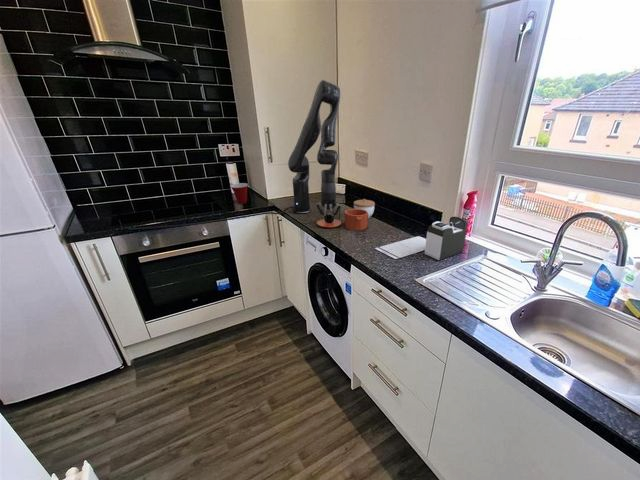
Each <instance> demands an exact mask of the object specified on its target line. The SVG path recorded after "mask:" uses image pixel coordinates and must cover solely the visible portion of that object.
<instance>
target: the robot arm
mask: <svg viewBox="0 0 640 480" xmlns="http://www.w3.org/2000/svg"><path fill="white" fill-rule="evenodd" d="M340 102H341V89H340V87H339V86H338V85H337V84H335V83H332V82H330V81H327V80H325V79H321V80H320V81H319V82H318V84H317V86H316V88H315V92H314V96H313V98H312V103H311V106H310V108H309V111H308V114H307V117H306V119H305V121H304V124H303V125H302V128H301V132H300V133H299V138H298V139H297V142H296V144H295V146H294V148H293V150H292V152H291V154H290V156H289V158H288V163H287V166H288V169H289V171H290V172H291V173H296V175H295V176H294V177H293V178H292V189H293V192H292V193H293V203H291V206H288V207H287V208H285V209H284V210H283V211H282V212H272V211H268V212H267V211H266V212H259V213H253V214H248V215H247V214H246V215H241V216H235V217H229V218H228V217H227V218H221V219H214V220H208V221H207V220H206V221H201V222H200V221H199V222H192V223H191V222H190V223H182V224H171V225H159V226H147V227H144V226H143V227H129V228H127V231H137V230H139V231H140V230H153V229H154V230H155V229H167V228H177V227H179V228H180V227H189V226H196V225H204V224H210V223H211V224H213V223H216V222H224V221H231V220H237V219H244V218H249V217H255V216H262V215H269V214H270V215H283V214H285V212H286V211H288V210H290V209H291V211H294V214H308V213H311V206H310V187H309V180H310V161H309V159H308V157H307V155H306V154H307V153H308V151H310V150H311V148H312V147H313V146H314V145H315V144H316V143H317V141H318V139H319V137H320V144H319V148H318V151H317V155H316V160H317V163H318V164H319V165H323V166H324V165H326V166H330V168H325V169H322V170H321V173H320V174H321V175H320V176H321V179H320V180H321V185H320V193H321V195H320V197H321V200H320V202H317V203H316V208H317V210H318V211H319V213H320V215H321V216H323V219H324V221H325V222H327V214H328V211H330V214H331V223H332V222H333V221H334V219H335V216H338V215H337V214H338V213H339V211H340V209H341V207H342V204H340V203H338V202H337V190H336V189H337V185H336V171H337V165H338V163H339V156H340V155H339V152H338V151H337V150H336V149H328V148H331V147H334V146H335V144H336V126H337V119H338V113H339V107H340ZM322 103H324V104H327V105H329V107H330V108H329V113H328V115H327V117H326V118H325V119H324V121H323V123H322V119H321V113H320V111H321V106H322ZM322 207H323V208H322ZM335 208H336V210H334V209H335Z"/></svg>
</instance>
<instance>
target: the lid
mask: <svg viewBox="0 0 640 480" xmlns="http://www.w3.org/2000/svg"><path fill="white" fill-rule="evenodd" d="M316 224H317V226H319V227H321V228H337V227H340V226H341V225H342V221H341V220H339V219H337V218H336V219H335V218H334V221H333V222H332V223H331V212H330V213H329V212H327V222H325V221H324V218H323V219H319V220H317V222H316Z"/></svg>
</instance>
